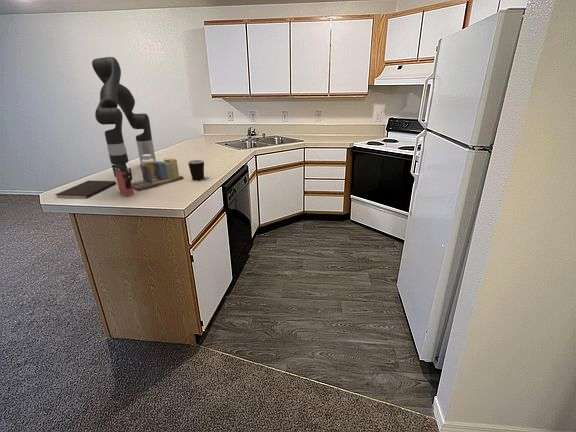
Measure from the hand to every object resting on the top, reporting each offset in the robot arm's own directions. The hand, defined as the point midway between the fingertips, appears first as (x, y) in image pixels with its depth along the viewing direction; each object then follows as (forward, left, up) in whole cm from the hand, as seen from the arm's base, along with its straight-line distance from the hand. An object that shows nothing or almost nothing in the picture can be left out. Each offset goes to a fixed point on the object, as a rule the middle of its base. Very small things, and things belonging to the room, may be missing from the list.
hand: (125, 187), depth 150 cm
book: (0, 0, -4) cm, 4 cm away
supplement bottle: (-19, +24, -4) cm, 31 cm away
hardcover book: (-22, -9, -4) cm, 24 cm away
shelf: (-5, +19, -4) cm, 20 cm away
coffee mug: (+7, +38, -4) cm, 39 cm away
